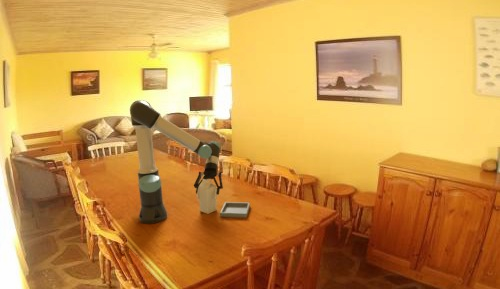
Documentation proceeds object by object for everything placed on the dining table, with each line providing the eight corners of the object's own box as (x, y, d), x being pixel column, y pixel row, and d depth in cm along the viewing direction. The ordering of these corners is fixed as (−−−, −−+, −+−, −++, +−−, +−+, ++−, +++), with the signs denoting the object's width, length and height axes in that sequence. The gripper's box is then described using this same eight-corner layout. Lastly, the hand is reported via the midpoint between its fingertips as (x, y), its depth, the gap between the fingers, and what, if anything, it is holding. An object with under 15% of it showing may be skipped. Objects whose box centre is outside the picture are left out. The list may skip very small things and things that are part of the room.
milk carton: (208, 207, 182) (206, 177, 178) (217, 210, 177) (215, 179, 173) (199, 211, 176) (197, 180, 172) (208, 214, 172) (206, 182, 168)
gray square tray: (220, 217, 169) (219, 212, 168) (225, 205, 183) (225, 201, 183) (246, 217, 167) (246, 213, 166) (249, 206, 181) (249, 202, 181)
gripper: (230, 167, 186) (226, 202, 174) (195, 167, 188) (189, 201, 177) (228, 162, 179) (224, 197, 167) (192, 161, 182) (185, 196, 170)
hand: (206, 199), depth 172 cm, fingers closed on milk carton, 10 cm apart
